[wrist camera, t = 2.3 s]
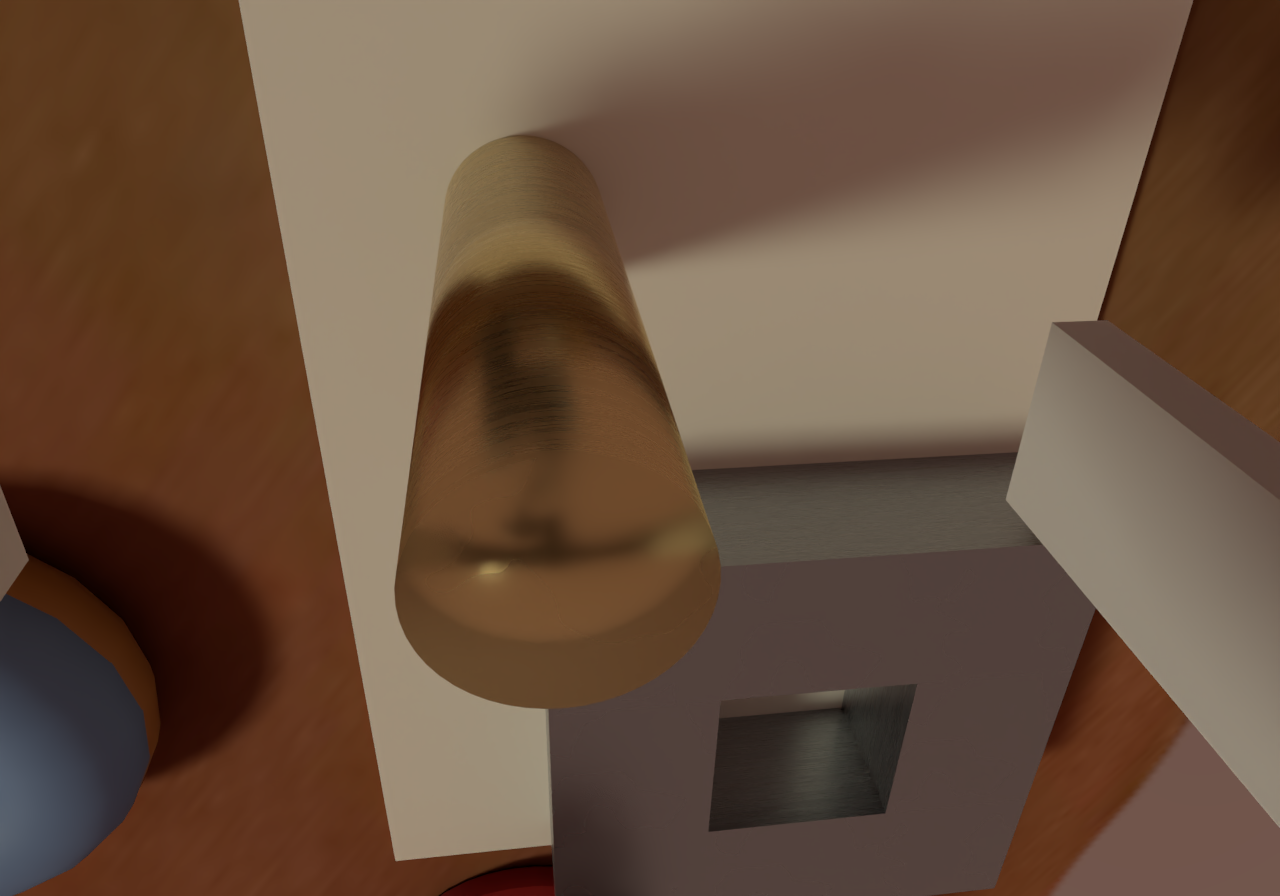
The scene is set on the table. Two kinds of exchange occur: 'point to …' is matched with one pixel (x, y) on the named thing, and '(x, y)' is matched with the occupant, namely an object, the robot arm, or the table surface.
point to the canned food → (509, 883)
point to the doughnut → (66, 724)
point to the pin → (545, 453)
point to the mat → (696, 256)
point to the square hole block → (830, 661)
